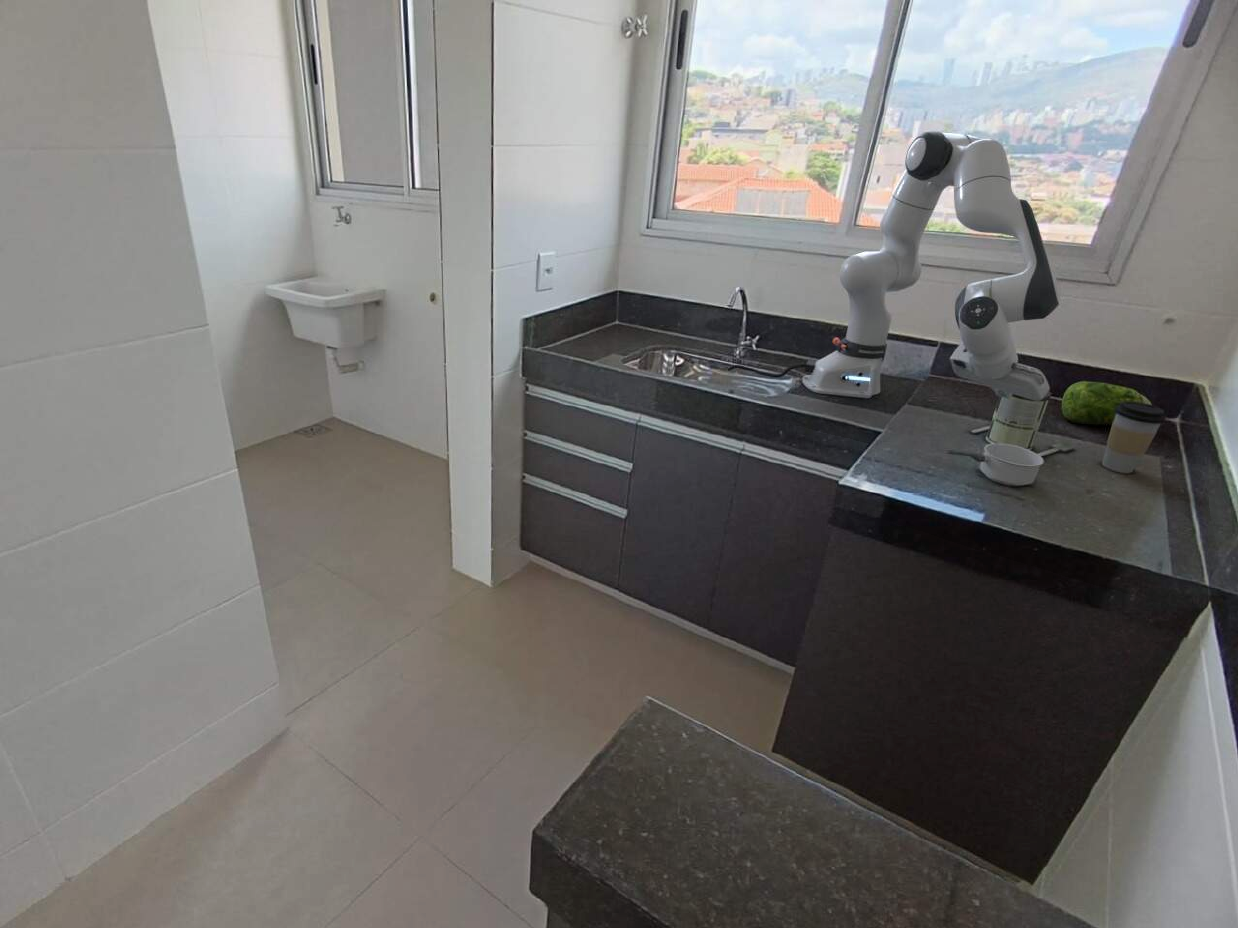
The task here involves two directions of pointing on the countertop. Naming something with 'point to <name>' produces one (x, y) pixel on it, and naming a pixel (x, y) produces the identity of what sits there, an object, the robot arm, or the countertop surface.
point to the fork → (980, 430)
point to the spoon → (1056, 449)
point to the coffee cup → (1131, 434)
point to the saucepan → (1006, 463)
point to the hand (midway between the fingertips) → (1004, 395)
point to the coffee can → (1017, 421)
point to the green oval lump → (1096, 402)
